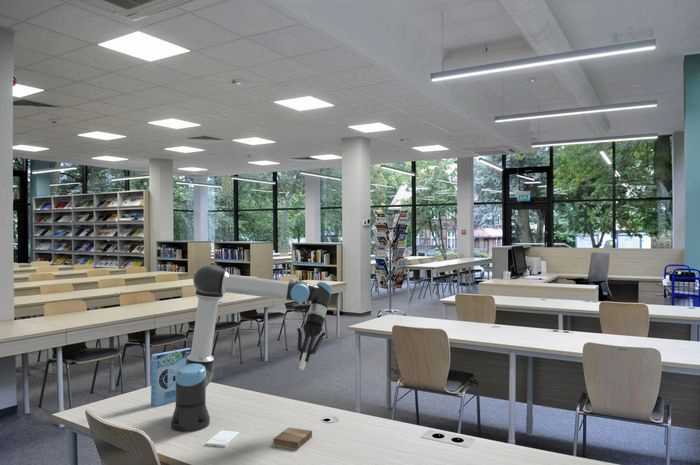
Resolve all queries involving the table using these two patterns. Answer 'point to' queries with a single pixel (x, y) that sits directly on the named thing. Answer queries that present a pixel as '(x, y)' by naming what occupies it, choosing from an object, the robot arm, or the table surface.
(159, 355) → the gum box
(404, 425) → the table surface
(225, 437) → the external hard drive
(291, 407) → the table surface
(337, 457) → the table surface
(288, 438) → the walnut tile
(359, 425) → the table surface
